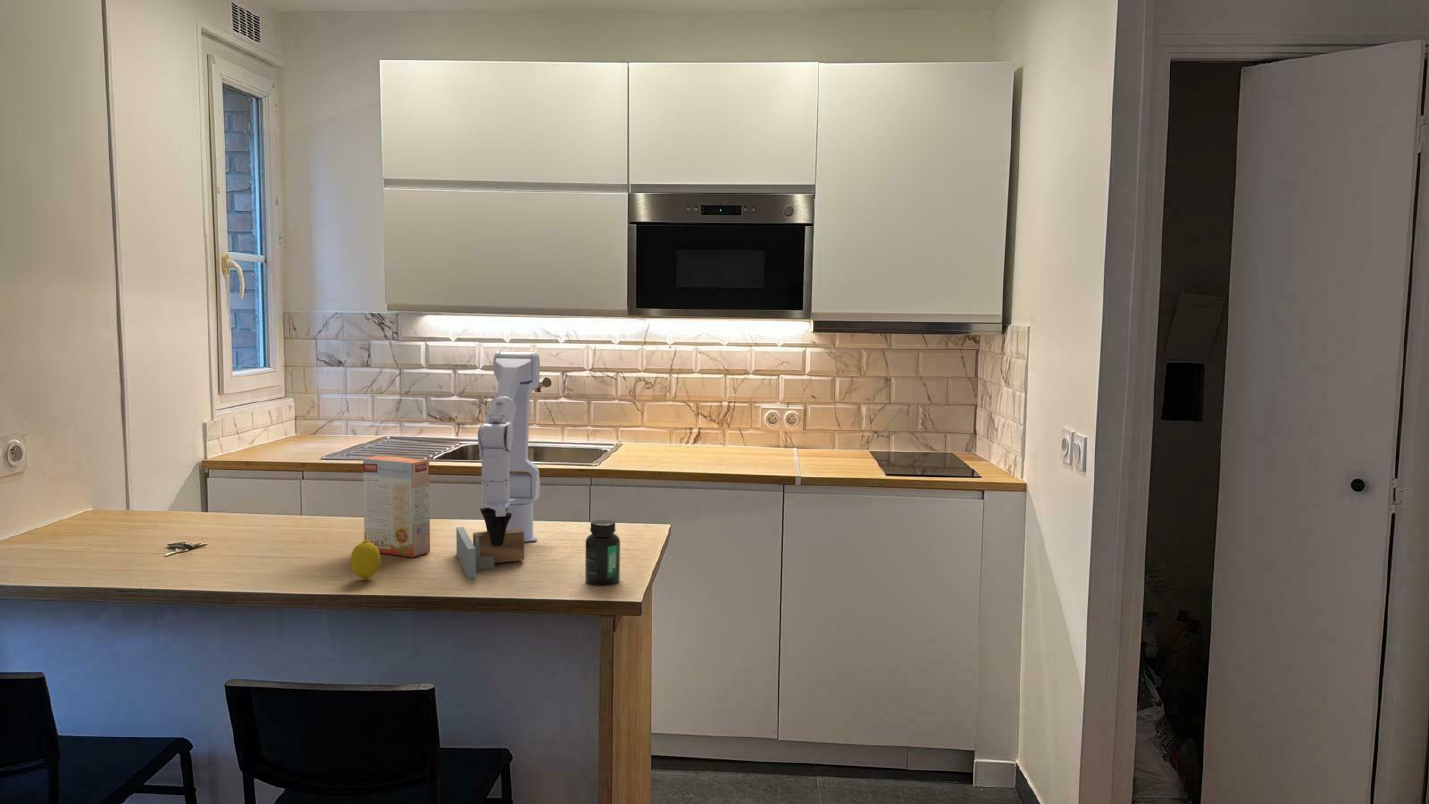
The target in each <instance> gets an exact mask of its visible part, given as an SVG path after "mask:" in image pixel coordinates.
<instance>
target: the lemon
mask: <svg viewBox="0 0 1429 804" xmlns="http://www.w3.org/2000/svg"><path fill="white" fill-rule="evenodd" d="M350 567H351V570H352V572H353V573H354V574H355V575H356V576H357V577H359V578H362V579H363V580H364V581H368V580H369V579H370V578H371V577H372V576H373V577H374V575H375V574H377V572H378V571H379V570H380V567H381V553H379V550H378V548H377V546H376V545H374V544H373V543H370V542H368V541H367V540H364V539H363V541H362V542H360V543H358V544H357V545H356V546H354V548H353V549H352V552H351V556H350Z"/></svg>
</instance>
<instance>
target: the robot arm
mask: <svg viewBox="0 0 1429 804" xmlns="http://www.w3.org/2000/svg"><path fill="white" fill-rule="evenodd" d="M540 366H541V363H540V356H539V354H538V353H537V351H532V352H531V351H530V352H529V351H501V350H497V351H496V352H495V353H494V355H493V361H492V369H493V375H494V376H495V378H496V380H497V382H498V386H497V387H498V388H497V395H496V397H494V398H493V399H491V400H490V403H489V406H488V410H487V413H486V417H485V421H484V423H483V425H480V426H479V427H478V430H477V446H478V451H479V459H480V460H481V500H480V505H481V506H482V507H480V508H479V511H480V513H481V514H482V516H483V520H484V522H485V523H484V524H485V528H486V531H489V532H490V539H491V543H492V546H502V545H503V541H504V537H505V532H506V530H507V529H518V528H521V529H522V530H523V532H524V543H525V542H527V543H528V542H537V541H538V537H537V536H536V535H535V534H534V501H536V500H538V498H539V497H540V491H541V479H540V470H539V467H538V466H537V465H535V464H534V463H533V462H532V461H531V460H529V458H528V457H529V437H530V436H529V435H530V433H529V431H530V427H529V425H530V400H531V394H532V391H533V390H534V389H537V388H538V387H539V383H540V374H541V373H540V369H541V367H540ZM510 472H522V473H510ZM523 472H524V473H523ZM526 472H527V473H526Z"/></svg>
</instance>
